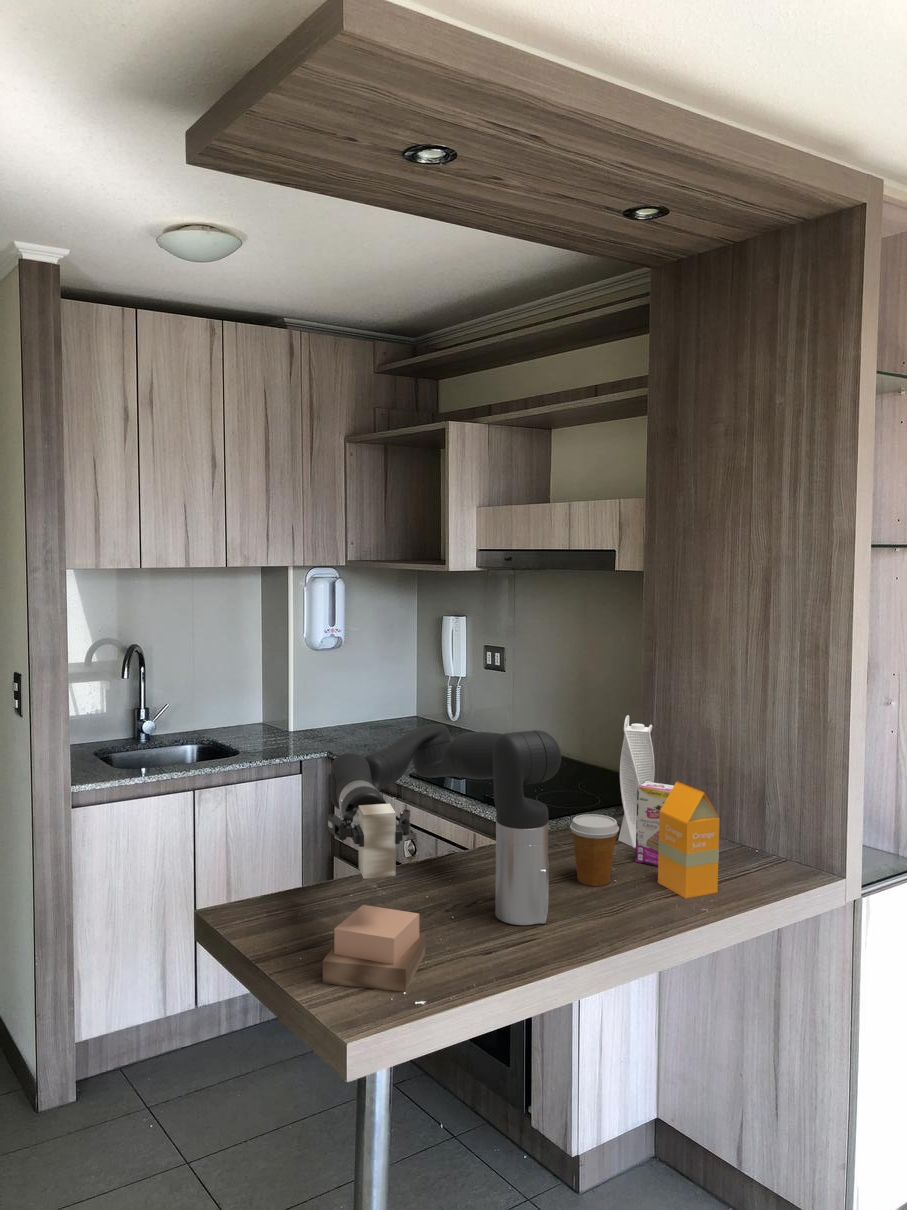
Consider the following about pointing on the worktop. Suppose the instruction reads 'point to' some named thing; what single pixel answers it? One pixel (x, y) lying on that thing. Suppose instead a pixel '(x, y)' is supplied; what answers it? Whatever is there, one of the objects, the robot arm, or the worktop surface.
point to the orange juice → (688, 843)
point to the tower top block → (377, 934)
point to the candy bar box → (649, 820)
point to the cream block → (377, 841)
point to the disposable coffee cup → (594, 847)
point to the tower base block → (374, 969)
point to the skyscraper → (634, 774)
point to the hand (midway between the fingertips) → (379, 839)
